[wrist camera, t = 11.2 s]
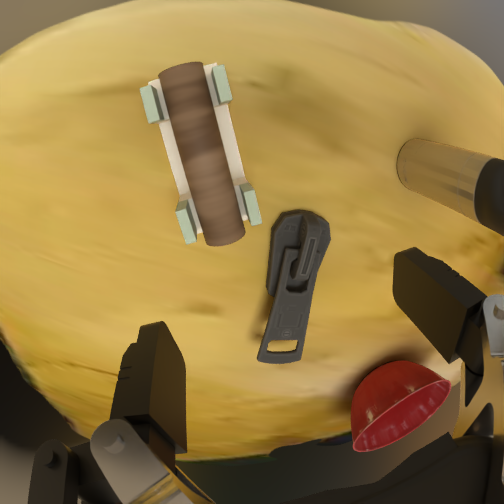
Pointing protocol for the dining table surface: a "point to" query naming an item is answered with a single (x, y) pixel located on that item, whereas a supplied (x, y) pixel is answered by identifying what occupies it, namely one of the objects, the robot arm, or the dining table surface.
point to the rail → (202, 152)
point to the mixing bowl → (394, 403)
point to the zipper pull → (292, 279)
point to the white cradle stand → (220, 99)
